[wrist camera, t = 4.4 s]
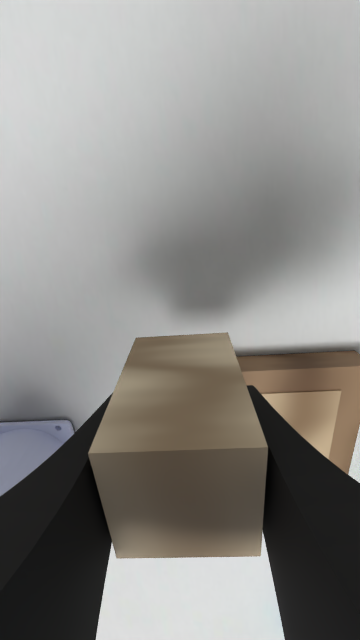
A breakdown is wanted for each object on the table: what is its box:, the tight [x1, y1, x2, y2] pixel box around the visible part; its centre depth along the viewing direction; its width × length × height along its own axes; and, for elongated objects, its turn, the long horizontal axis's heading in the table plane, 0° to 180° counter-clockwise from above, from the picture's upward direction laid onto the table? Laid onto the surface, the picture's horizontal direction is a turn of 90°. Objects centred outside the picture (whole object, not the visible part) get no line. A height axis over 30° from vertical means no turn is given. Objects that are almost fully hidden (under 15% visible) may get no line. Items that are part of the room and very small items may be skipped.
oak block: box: [88, 333, 268, 558], centre depth 9 cm, size 4×4×6 cm
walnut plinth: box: [237, 351, 360, 474], centre depth 20 cm, size 10×10×2 cm
